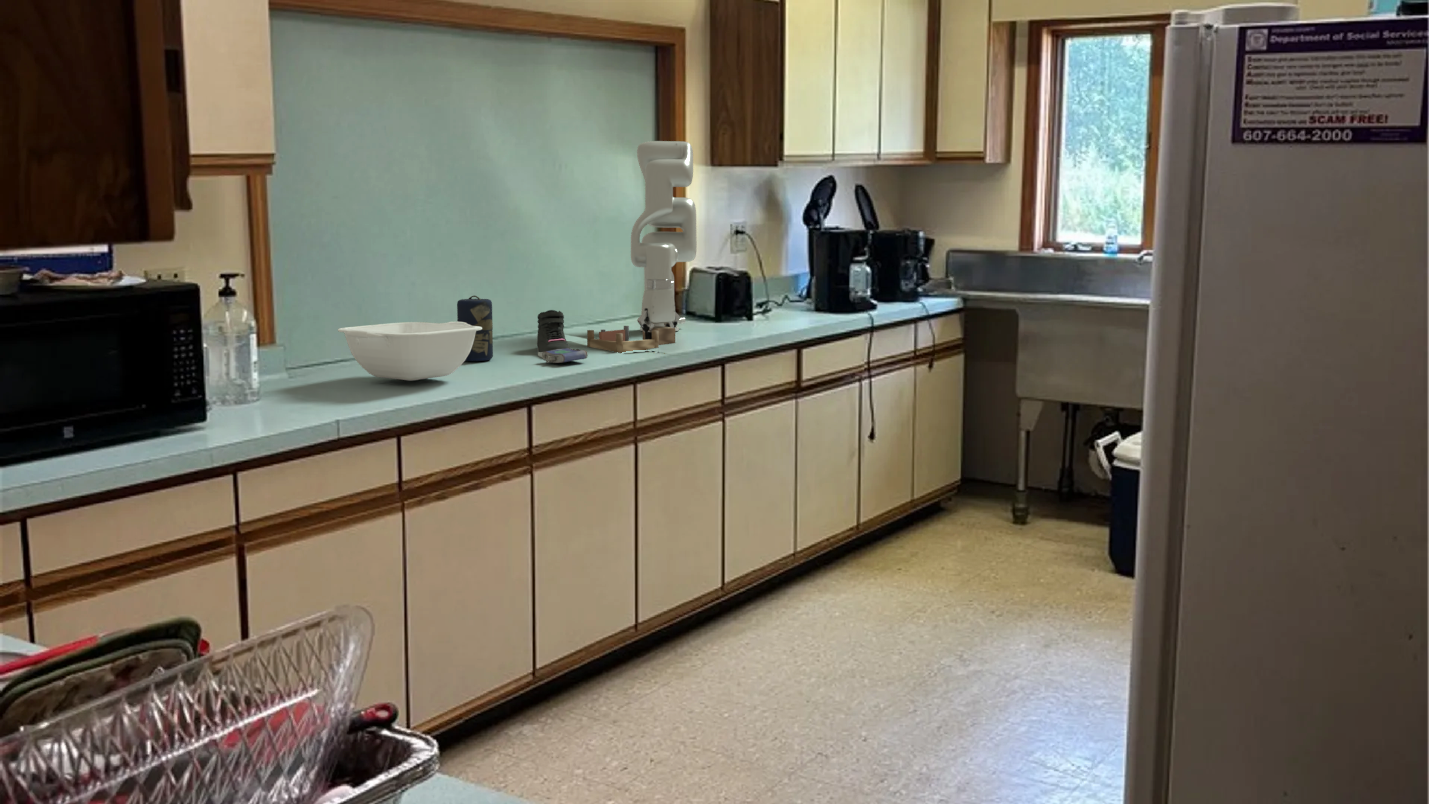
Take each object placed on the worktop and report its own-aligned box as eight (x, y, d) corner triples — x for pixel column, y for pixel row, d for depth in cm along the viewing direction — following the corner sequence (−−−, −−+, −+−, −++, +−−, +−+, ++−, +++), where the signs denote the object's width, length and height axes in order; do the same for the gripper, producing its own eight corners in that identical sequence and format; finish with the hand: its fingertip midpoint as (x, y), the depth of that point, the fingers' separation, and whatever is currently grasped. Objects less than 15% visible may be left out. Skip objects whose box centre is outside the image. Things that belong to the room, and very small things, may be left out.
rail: (626, 346, 416) (625, 325, 415) (630, 346, 415) (629, 325, 414) (598, 349, 406) (598, 328, 405) (602, 350, 405) (602, 328, 404)
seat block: (660, 346, 420) (660, 325, 419) (675, 347, 415) (675, 327, 414) (642, 347, 415) (642, 326, 414) (657, 349, 410) (657, 328, 409)
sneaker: (544, 361, 378) (543, 314, 377) (527, 352, 403) (527, 308, 401) (578, 360, 381) (578, 314, 380) (560, 351, 406) (559, 307, 404)
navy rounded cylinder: (464, 363, 371) (462, 297, 369) (453, 360, 380) (452, 294, 377) (498, 361, 376) (496, 296, 373) (487, 358, 384) (485, 294, 382)
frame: (626, 347, 416) (626, 327, 415) (659, 351, 405) (659, 330, 404) (586, 350, 406) (585, 330, 405) (618, 354, 395) (618, 333, 394)
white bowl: (422, 366, 365) (421, 318, 363) (501, 374, 349) (500, 324, 347) (319, 379, 337) (317, 327, 335) (400, 388, 321) (398, 334, 319)
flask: (588, 350, 374) (557, 355, 366) (588, 360, 375) (558, 366, 367) (565, 346, 380) (535, 352, 373) (566, 357, 381) (536, 362, 373)
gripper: (672, 284, 421) (672, 341, 423) (628, 286, 409) (628, 345, 412) (688, 285, 415) (688, 343, 418) (644, 287, 404) (644, 347, 406)
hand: (659, 344), depth 415 cm, fingers closed on seat block, 7 cm apart
